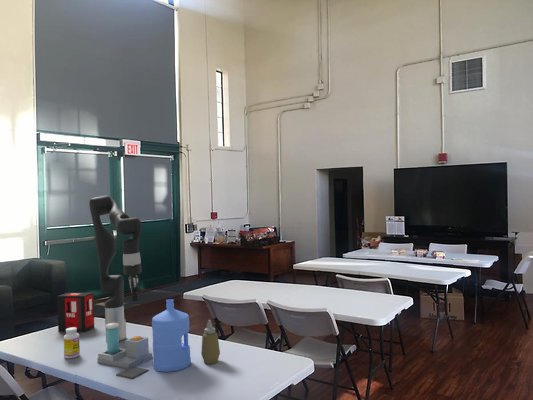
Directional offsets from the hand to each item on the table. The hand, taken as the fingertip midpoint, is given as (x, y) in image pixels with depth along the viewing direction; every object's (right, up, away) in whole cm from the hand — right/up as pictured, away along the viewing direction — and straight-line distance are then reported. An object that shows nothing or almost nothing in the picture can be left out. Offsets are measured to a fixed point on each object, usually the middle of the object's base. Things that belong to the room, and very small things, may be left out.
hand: (135, 300), depth 195 cm
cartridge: (-9, -25, -1) cm, 26 cm away
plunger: (+1, -21, 0) cm, 21 cm away
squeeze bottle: (+35, -25, -7) cm, 44 cm away
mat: (+4, -26, -16) cm, 31 cm away
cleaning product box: (-49, -28, +51) cm, 76 cm away
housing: (-4, -26, -1) cm, 27 cm away
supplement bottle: (-31, -28, +7) cm, 42 cm away
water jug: (+19, -26, -10) cm, 33 cm away
